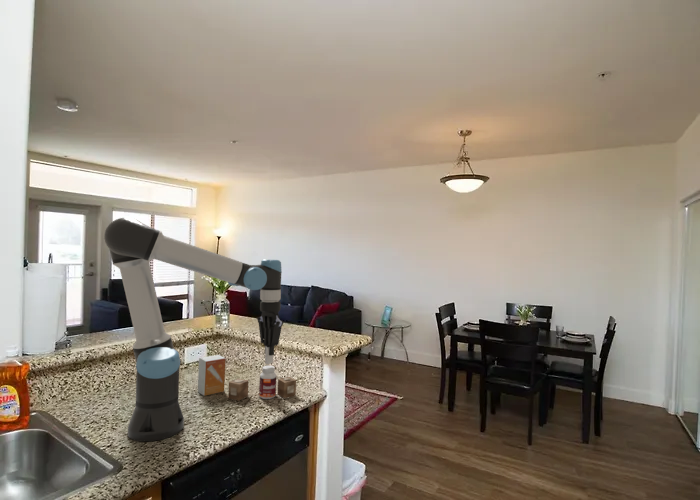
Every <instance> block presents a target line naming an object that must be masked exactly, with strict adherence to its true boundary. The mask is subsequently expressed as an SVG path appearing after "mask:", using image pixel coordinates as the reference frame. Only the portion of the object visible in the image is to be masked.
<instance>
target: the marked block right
mask: <svg viewBox="0 0 700 500" xmlns="http://www.w3.org/2000/svg"><path fill="white" fill-rule="evenodd" d="M277 395H278V396H279V397H280V398H282V399H284V398H285V399H289V398H293V397H296V396H297V379H296V378H295V379H294V378H293V377H291V376H286V377H282V378H278V379H277ZM288 397H289V398H288Z"/></svg>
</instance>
